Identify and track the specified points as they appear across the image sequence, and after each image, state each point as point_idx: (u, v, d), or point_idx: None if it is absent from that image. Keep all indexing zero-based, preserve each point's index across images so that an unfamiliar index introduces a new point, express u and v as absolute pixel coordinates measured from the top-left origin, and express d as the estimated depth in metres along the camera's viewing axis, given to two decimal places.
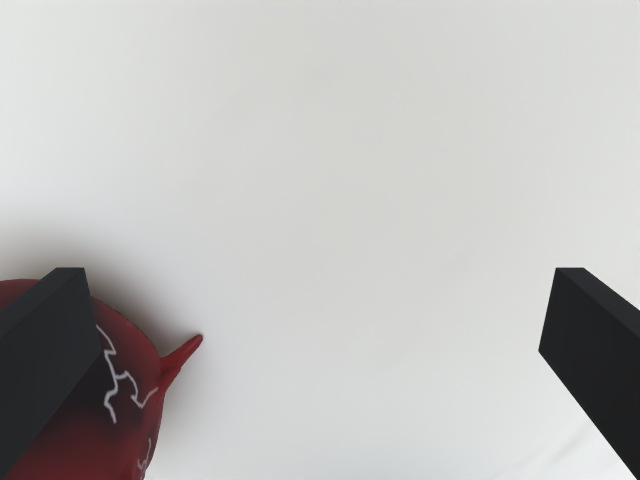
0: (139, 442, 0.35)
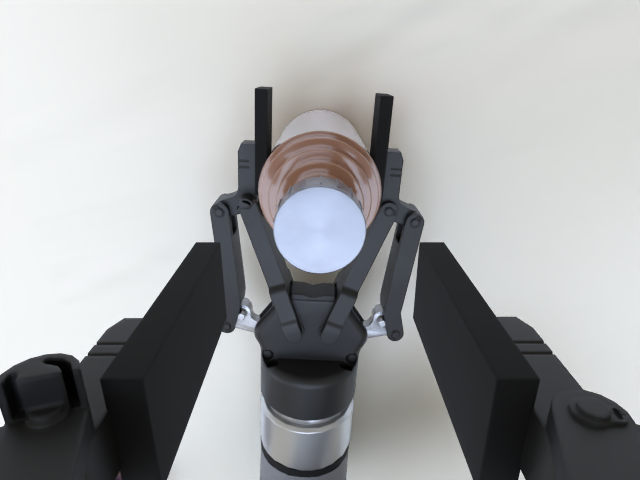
0: None
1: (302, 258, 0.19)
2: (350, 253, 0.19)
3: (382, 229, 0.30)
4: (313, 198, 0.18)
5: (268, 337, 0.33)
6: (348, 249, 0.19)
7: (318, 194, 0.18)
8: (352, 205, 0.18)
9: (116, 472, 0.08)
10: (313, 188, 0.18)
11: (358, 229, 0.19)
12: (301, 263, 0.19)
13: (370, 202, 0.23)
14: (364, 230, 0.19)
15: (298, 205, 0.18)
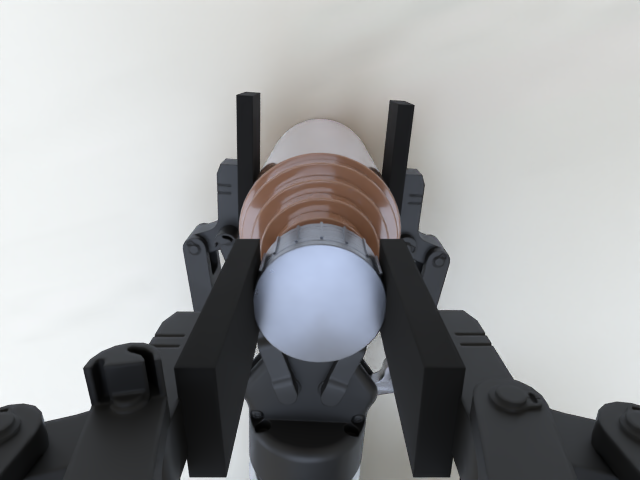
0: None
1: (294, 342, 0.13)
2: (363, 335, 0.13)
3: None
4: (310, 261, 0.12)
5: (257, 396, 0.27)
6: (361, 330, 0.13)
7: (317, 255, 0.12)
8: (367, 270, 0.12)
9: (185, 458, 0.09)
10: (310, 247, 0.12)
11: (375, 303, 0.13)
12: (293, 349, 0.13)
13: None
14: (384, 305, 0.13)
15: (288, 270, 0.12)
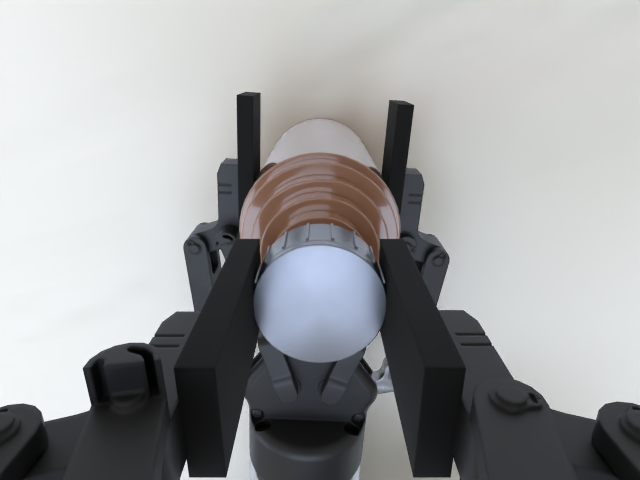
0: None
1: (363, 325, 0.13)
2: (349, 262, 0.12)
3: None
4: (271, 319, 0.13)
5: (257, 395, 0.27)
6: (343, 265, 0.12)
7: (264, 314, 0.13)
8: (273, 269, 0.12)
9: (185, 458, 0.09)
10: (257, 321, 0.13)
11: (309, 256, 0.12)
12: (372, 325, 0.13)
13: None
14: (309, 247, 0.12)
15: (284, 336, 0.13)
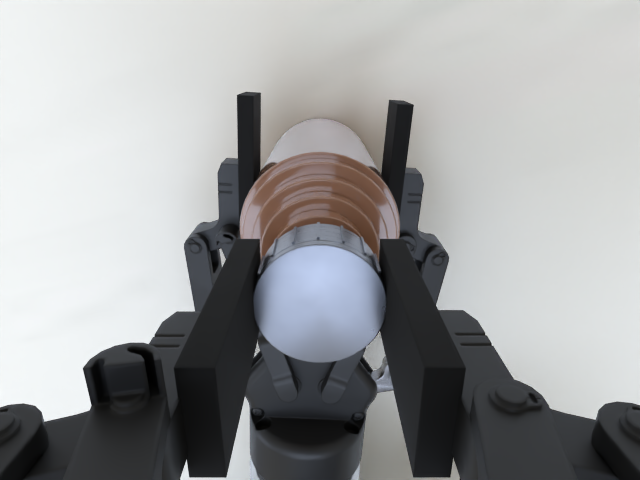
0: None
1: (335, 264, 0.12)
2: (266, 286, 0.13)
3: None
4: (339, 346, 0.13)
5: (258, 393, 0.27)
6: (271, 291, 0.13)
7: (333, 352, 0.13)
8: (285, 349, 0.13)
9: (185, 458, 0.09)
10: (342, 358, 0.13)
11: (266, 321, 0.13)
12: (335, 256, 0.12)
13: None
14: (258, 321, 0.13)
15: (357, 334, 0.13)
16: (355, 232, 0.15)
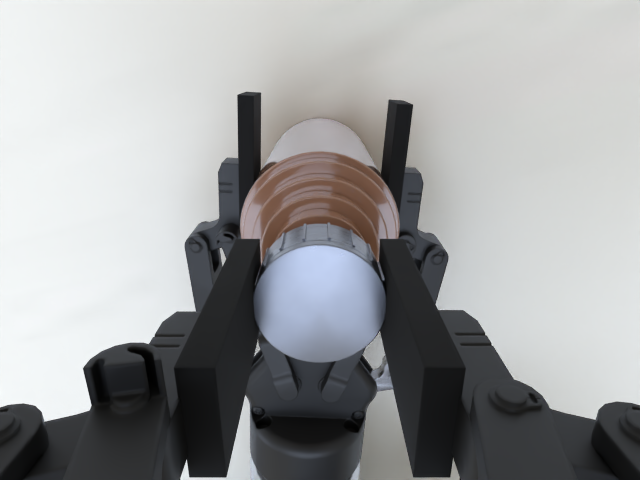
0: None
1: (270, 298, 0.13)
2: (303, 352, 0.13)
3: None
4: (364, 284, 0.13)
5: (258, 392, 0.27)
6: (308, 348, 0.13)
7: (372, 288, 0.13)
8: (371, 332, 0.13)
9: (185, 458, 0.09)
10: (379, 280, 0.12)
11: (341, 350, 0.13)
12: (262, 299, 0.13)
13: None
14: (342, 357, 0.13)
15: (347, 268, 0.12)
16: (355, 231, 0.15)
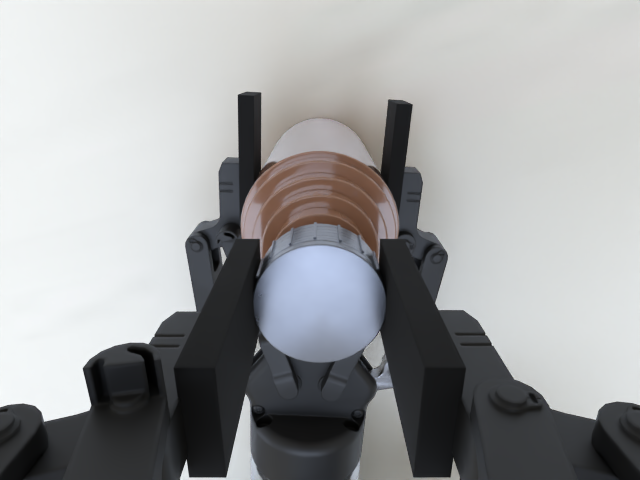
0: None
1: (315, 348, 0.13)
2: (375, 315, 0.13)
3: None
4: (288, 270, 0.12)
5: (258, 391, 0.27)
6: (369, 312, 0.13)
7: (291, 262, 0.12)
8: (344, 255, 0.12)
9: (184, 458, 0.09)
10: (280, 257, 0.12)
11: (369, 281, 0.13)
12: (318, 355, 0.13)
13: None
14: (378, 279, 0.12)
15: (274, 287, 0.13)
16: (355, 230, 0.15)
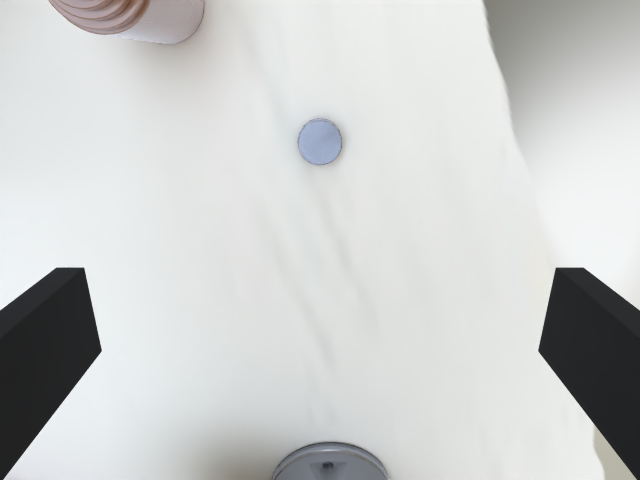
0: None
1: (318, 159, 0.40)
2: (338, 146, 0.40)
3: None
4: (310, 129, 0.39)
5: None
6: (336, 145, 0.40)
7: (311, 127, 0.39)
8: (327, 124, 0.39)
9: None
10: (307, 125, 0.39)
11: (335, 134, 0.40)
12: (319, 161, 0.40)
13: (85, 17, 0.25)
14: (338, 133, 0.39)
15: (305, 136, 0.40)
16: None
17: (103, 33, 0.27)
